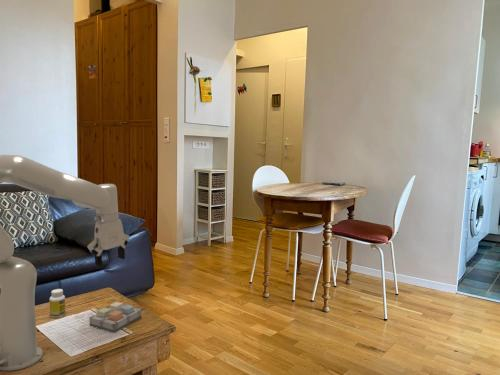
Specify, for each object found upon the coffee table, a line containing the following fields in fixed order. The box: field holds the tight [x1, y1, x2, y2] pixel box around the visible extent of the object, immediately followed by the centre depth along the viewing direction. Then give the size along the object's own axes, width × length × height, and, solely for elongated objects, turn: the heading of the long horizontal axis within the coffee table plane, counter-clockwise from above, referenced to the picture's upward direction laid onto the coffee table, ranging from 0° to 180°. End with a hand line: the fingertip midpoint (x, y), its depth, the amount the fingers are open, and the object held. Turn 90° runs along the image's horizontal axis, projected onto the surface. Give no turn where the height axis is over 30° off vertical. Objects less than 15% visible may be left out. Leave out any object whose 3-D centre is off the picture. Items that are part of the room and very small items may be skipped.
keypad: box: [88, 304, 142, 334], centre depth 146 cm, size 14×12×3 cm
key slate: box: [121, 304, 135, 315], centre depth 147 cm, size 3×3×3 cm
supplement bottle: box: [49, 288, 66, 318], centre depth 150 cm, size 5×5×10 cm
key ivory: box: [109, 301, 124, 311], centre depth 149 cm, size 3×3×3 cm
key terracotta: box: [109, 310, 123, 322], centre depth 142 cm, size 3×3×3 cm
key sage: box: [96, 307, 111, 318], centre depth 144 cm, size 3×3×3 cm
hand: (110, 261), depth 146 cm, fingers open, 9 cm apart
